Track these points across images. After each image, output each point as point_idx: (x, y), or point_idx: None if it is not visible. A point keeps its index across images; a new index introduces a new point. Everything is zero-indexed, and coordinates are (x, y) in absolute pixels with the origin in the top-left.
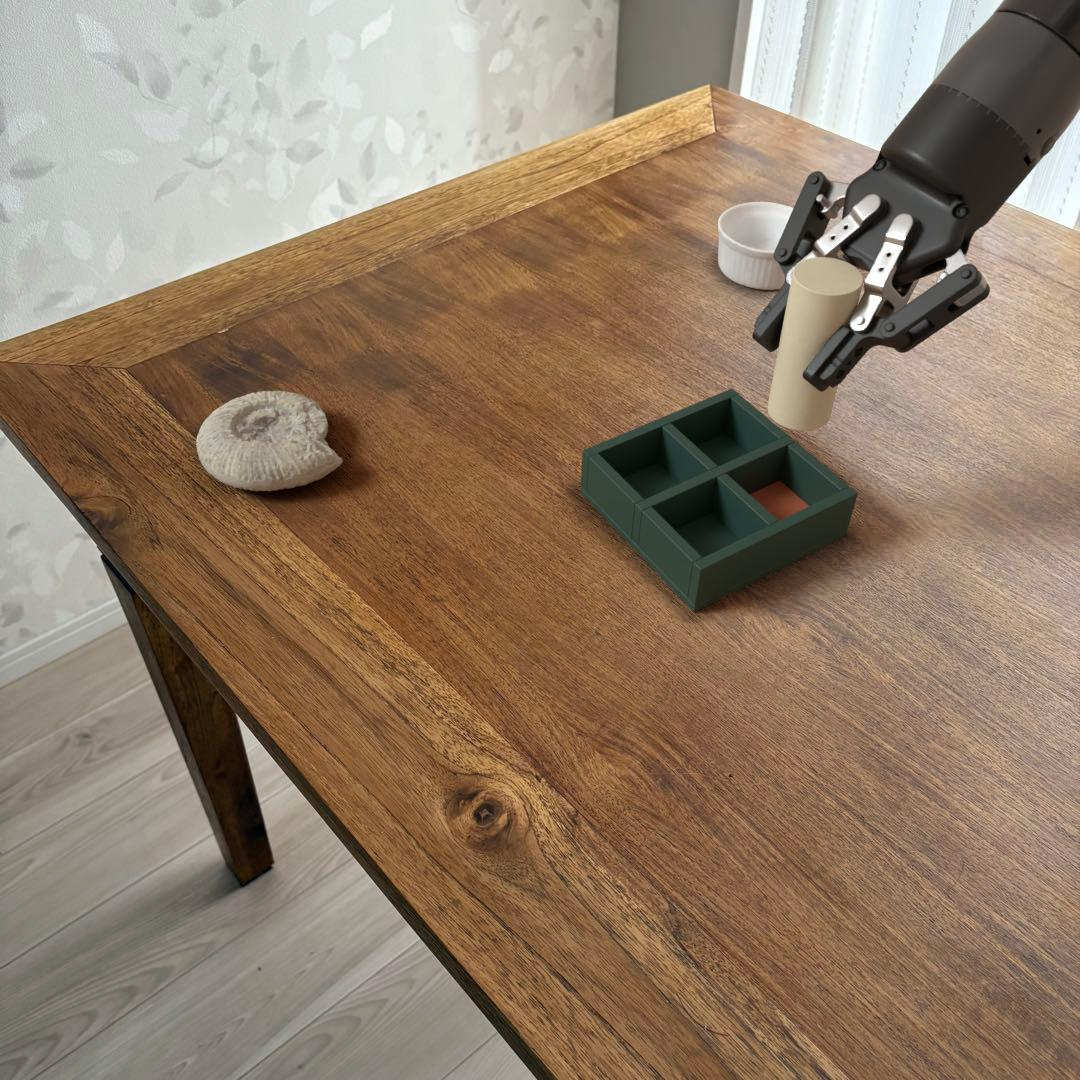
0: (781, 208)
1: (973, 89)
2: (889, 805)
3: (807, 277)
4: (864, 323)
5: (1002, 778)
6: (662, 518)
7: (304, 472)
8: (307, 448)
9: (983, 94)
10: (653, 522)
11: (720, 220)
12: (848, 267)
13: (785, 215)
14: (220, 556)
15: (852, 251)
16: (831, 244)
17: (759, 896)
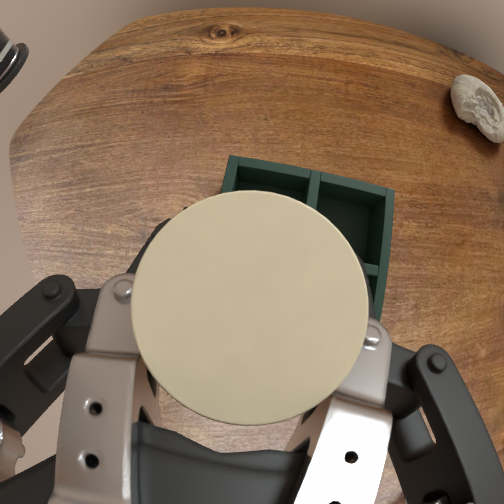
0: None
1: None
2: (75, 163)
3: (292, 248)
4: (112, 289)
5: (44, 222)
6: (292, 174)
7: (454, 91)
8: (467, 97)
9: None
10: (294, 166)
11: None
12: (231, 404)
13: None
14: (423, 55)
15: (266, 464)
16: (338, 435)
17: (104, 88)
